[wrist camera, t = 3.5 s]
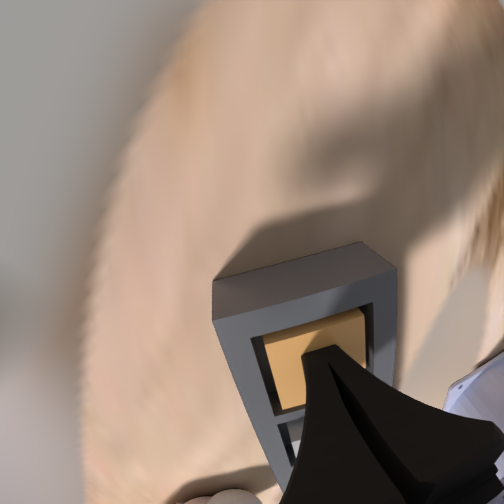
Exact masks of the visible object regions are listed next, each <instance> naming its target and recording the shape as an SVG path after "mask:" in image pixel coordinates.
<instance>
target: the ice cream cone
mask: <svg viewBox="0 0 504 504" xmlns="http://www.w3.org/2000/svg"><path fill="white" fill-rule="evenodd" d="M176 504H262V502H261V501H260V500H259V499H258V498H257V497H256V496H255V495H254V494H252V493H250V492H248V491H245V490H240V489H228V490H224V491H221V492H219V493H217V494H215V495H214V496H213V497H210V496H204V497H197V498H194V499H191V500H189V501H187V502H179V503H176Z"/></svg>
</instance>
